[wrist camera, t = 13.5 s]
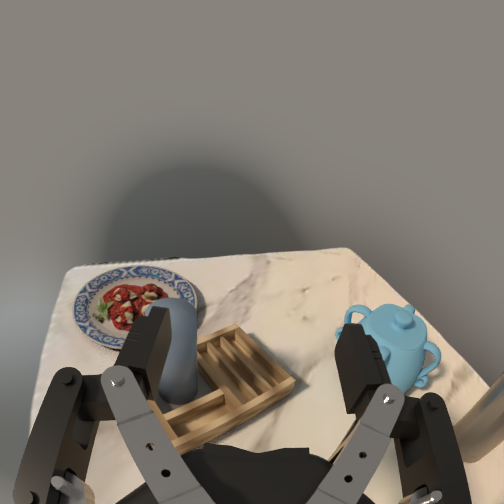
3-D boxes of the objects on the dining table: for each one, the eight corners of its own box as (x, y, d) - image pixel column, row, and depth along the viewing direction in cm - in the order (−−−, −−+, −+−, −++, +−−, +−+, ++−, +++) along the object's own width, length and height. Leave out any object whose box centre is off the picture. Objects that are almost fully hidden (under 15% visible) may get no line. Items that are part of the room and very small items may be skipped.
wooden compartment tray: (234, 337, 52) (235, 323, 50) (291, 393, 42) (295, 380, 41) (131, 379, 40) (127, 365, 39) (177, 456, 31) (175, 447, 29)
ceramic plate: (190, 270, 70) (190, 259, 68) (207, 351, 49) (207, 339, 47) (86, 275, 62) (83, 264, 61) (65, 357, 41) (59, 346, 40)
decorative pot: (421, 406, 39) (462, 353, 33) (336, 409, 40) (370, 352, 33) (400, 343, 54) (427, 290, 47) (328, 338, 54) (349, 280, 47)
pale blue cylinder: (185, 367, 43) (181, 292, 36) (205, 394, 39) (206, 321, 32) (150, 381, 40) (137, 306, 32) (169, 411, 36) (158, 339, 28)
